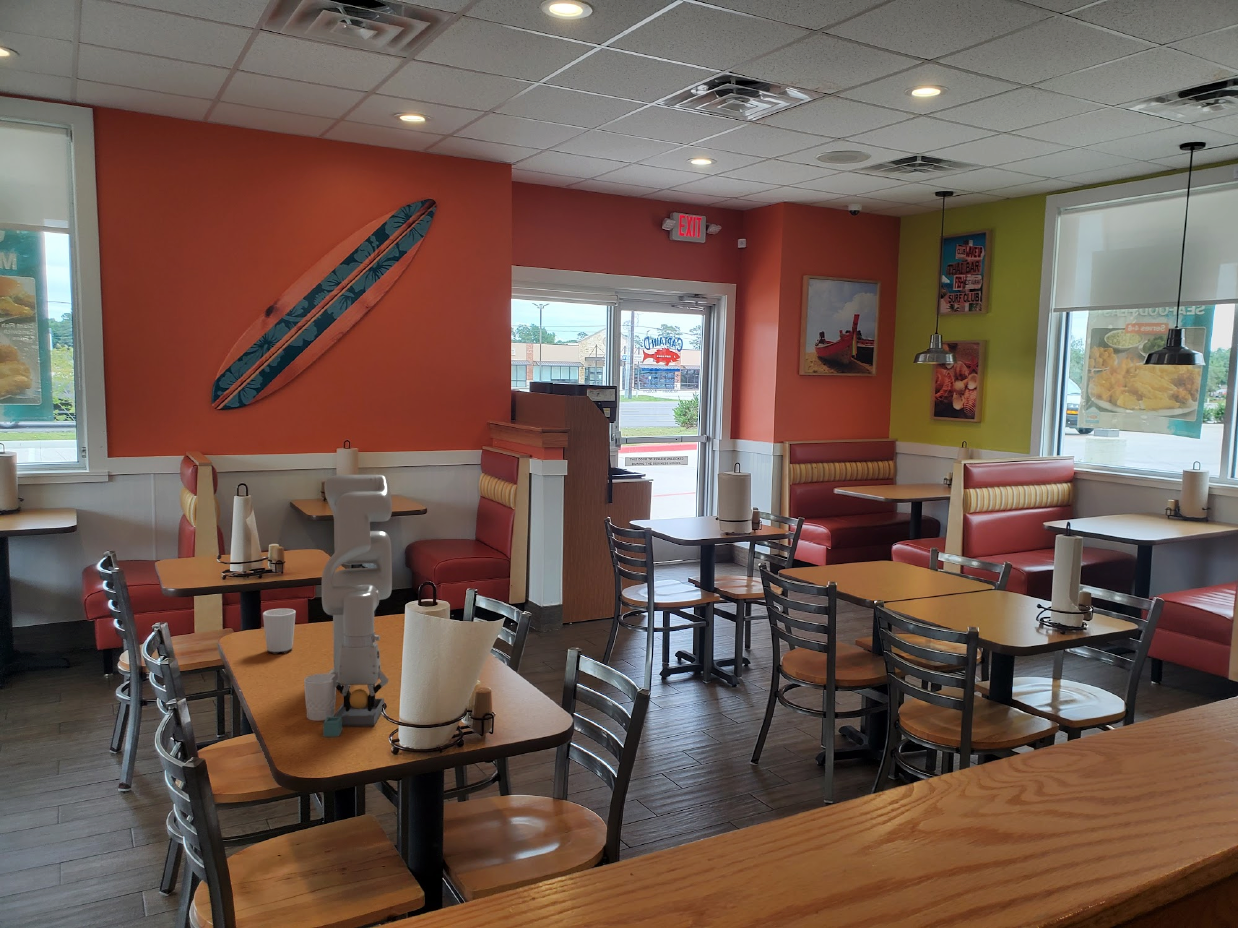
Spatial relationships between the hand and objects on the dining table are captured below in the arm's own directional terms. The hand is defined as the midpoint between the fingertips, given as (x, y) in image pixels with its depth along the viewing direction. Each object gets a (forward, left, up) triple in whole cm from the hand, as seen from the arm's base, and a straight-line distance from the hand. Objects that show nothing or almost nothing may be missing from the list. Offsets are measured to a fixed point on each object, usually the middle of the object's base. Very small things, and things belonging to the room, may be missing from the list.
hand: (359, 708), depth 226 cm
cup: (-59, -38, -2) cm, 70 cm away
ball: (0, 0, +3) cm, 3 cm away
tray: (0, 0, -2) cm, 2 cm away
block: (+11, -4, -2) cm, 12 cm away
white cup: (-1, -10, -2) cm, 10 cm away
